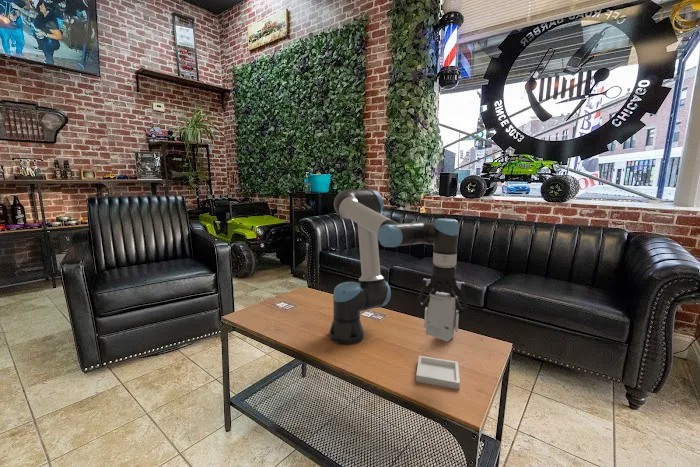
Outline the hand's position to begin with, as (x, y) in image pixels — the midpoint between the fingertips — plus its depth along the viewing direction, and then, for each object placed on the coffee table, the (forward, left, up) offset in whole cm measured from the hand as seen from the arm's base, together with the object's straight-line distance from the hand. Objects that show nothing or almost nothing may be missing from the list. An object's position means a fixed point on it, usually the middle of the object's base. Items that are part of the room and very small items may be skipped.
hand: (440, 328), depth 107 cm
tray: (0, 0, -17) cm, 17 cm away
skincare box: (0, 0, -3) cm, 3 cm away
